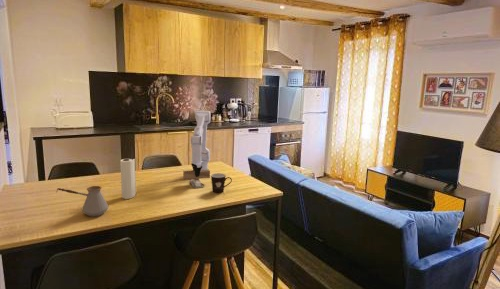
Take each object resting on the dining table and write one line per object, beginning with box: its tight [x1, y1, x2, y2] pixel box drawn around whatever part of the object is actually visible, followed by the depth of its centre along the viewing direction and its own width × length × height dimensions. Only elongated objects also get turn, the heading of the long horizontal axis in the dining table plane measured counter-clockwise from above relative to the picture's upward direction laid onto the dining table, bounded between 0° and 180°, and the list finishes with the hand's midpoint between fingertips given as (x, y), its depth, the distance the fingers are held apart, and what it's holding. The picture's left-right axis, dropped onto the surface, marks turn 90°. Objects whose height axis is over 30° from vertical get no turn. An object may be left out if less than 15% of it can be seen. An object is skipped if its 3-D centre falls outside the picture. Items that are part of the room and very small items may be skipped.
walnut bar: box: [182, 168, 211, 181], centre depth 205 cm, size 4×16×4 cm, turn 110°
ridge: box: [189, 179, 205, 189], centre depth 206 cm, size 14×6×3 cm, turn 20°
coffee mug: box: [210, 172, 233, 194], centre depth 193 cm, size 12×9×10 cm
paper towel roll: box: [119, 158, 137, 200], centre depth 178 cm, size 7×6×21 cm
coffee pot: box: [55, 185, 109, 217], centre depth 155 cm, size 21×12×15 cm, turn 120°
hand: (196, 175), depth 205 cm, fingers closed on walnut bar, 4 cm apart
